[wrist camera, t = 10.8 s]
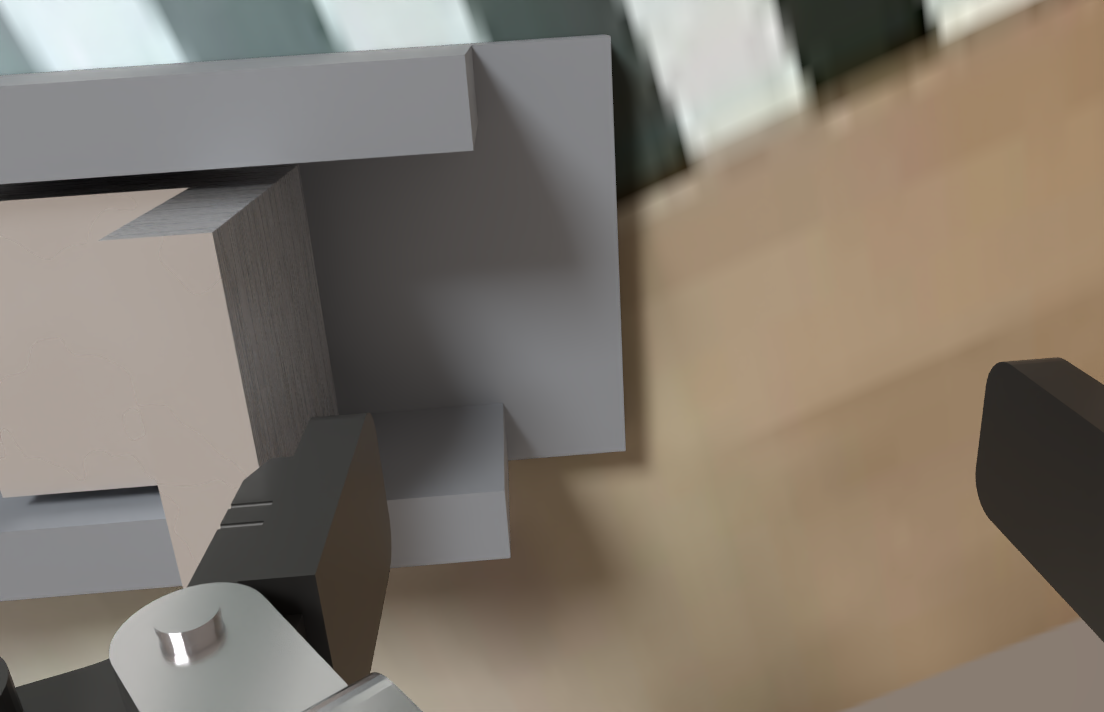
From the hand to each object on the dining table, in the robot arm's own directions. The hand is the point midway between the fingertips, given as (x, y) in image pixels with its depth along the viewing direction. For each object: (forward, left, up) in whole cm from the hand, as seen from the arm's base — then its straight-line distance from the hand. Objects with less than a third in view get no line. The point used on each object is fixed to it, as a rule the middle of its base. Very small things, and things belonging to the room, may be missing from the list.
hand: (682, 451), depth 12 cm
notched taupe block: (0, -10, -10) cm, 14 cm away
